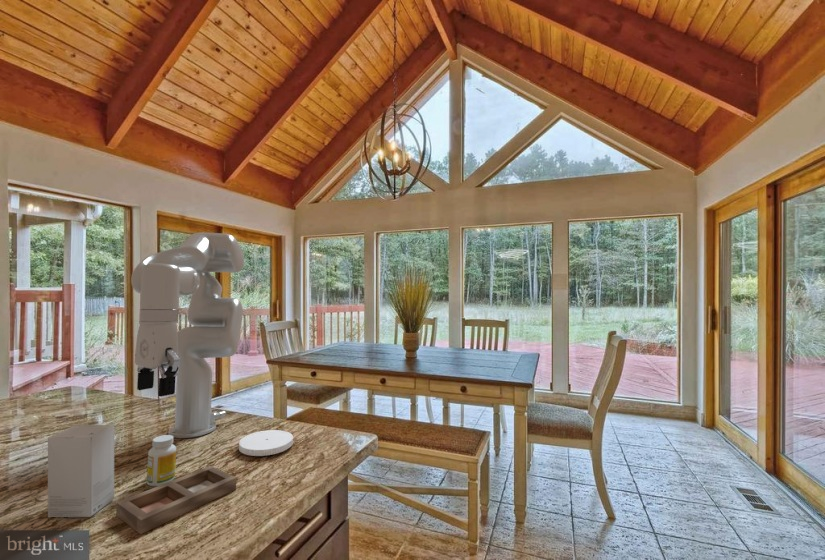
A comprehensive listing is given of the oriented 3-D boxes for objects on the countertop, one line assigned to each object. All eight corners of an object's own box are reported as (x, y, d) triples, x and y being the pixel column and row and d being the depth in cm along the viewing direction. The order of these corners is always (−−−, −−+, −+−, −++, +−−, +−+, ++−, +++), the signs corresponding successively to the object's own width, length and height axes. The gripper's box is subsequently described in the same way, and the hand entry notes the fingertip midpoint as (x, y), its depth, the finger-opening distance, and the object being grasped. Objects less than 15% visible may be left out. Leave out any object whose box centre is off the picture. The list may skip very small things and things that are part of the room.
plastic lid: (226, 456, 100) (227, 446, 100) (259, 436, 114) (259, 427, 114) (274, 462, 97) (274, 452, 97) (302, 441, 111) (302, 432, 111)
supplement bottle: (141, 487, 84) (143, 443, 84) (155, 475, 89) (156, 433, 89) (167, 486, 84) (169, 442, 84) (179, 474, 89) (181, 433, 90)
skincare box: (114, 500, 78) (118, 423, 79) (88, 519, 72) (92, 436, 72) (73, 500, 78) (76, 423, 78) (42, 519, 71) (46, 435, 72)
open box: (210, 476, 89) (210, 465, 89) (236, 489, 84) (236, 477, 84) (115, 515, 73) (116, 502, 73) (140, 534, 68) (141, 520, 68)
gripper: (123, 316, 89) (119, 389, 89) (160, 319, 80) (156, 401, 80) (158, 315, 96) (154, 383, 95) (196, 318, 87) (193, 394, 86)
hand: (155, 392), depth 87 cm, fingers open, 9 cm apart
